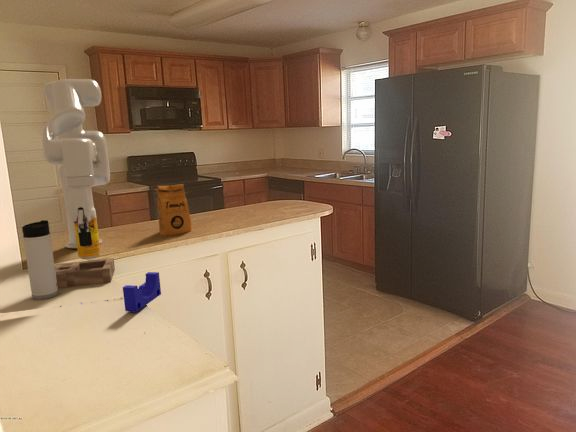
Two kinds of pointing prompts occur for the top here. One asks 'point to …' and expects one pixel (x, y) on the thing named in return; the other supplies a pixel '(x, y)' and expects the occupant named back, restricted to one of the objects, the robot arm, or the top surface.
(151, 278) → the cable clip
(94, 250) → the beer can
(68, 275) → the brown wooden slotted block
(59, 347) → the top surface
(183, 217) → the coffee package
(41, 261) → the travel mug
